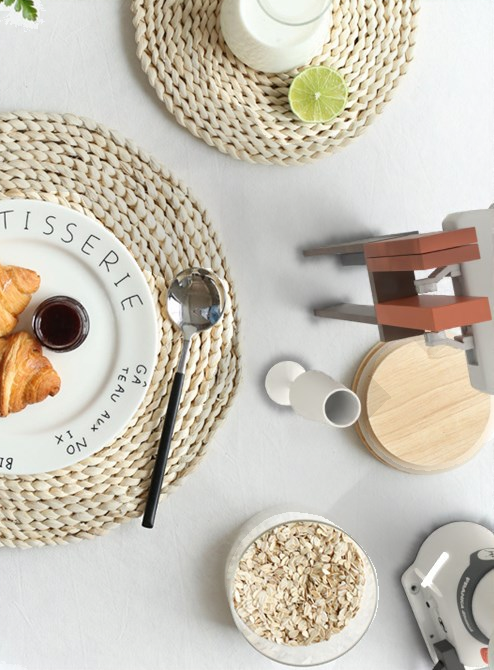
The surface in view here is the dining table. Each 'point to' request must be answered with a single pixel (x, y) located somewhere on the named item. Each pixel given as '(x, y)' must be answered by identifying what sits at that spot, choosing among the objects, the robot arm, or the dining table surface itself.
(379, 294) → the shelf
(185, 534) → the dining table surface
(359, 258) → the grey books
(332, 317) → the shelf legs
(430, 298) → the terracotta book
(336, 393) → the champagne flute
